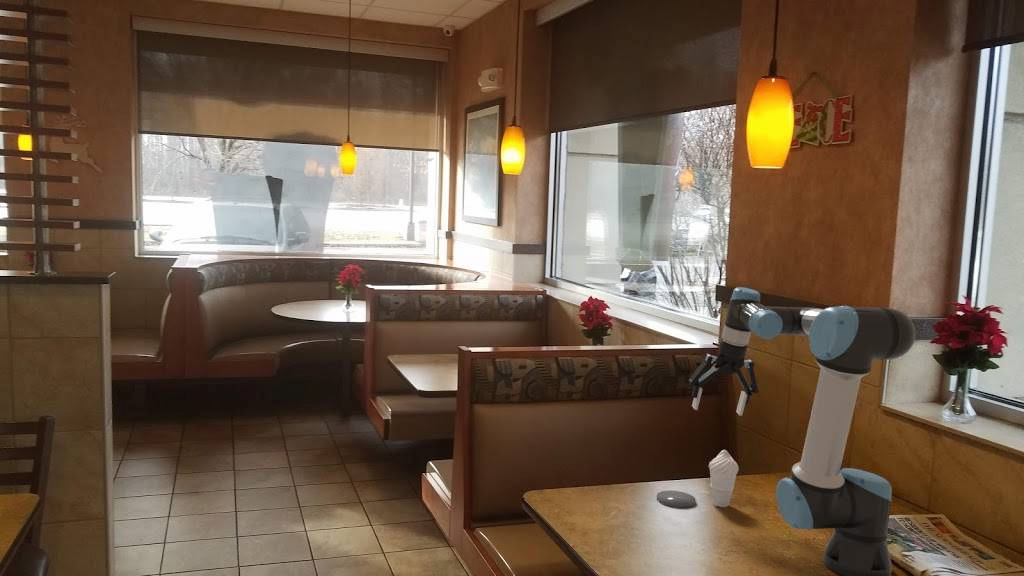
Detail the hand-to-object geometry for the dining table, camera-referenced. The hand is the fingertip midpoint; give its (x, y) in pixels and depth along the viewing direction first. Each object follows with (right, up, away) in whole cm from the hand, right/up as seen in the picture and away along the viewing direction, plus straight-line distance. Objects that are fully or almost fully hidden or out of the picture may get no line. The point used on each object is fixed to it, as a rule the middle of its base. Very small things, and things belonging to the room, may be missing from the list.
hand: (716, 411), depth 233 cm
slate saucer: (-12, -26, -1) cm, 28 cm away
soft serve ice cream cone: (+1, -27, -2) cm, 27 cm away
